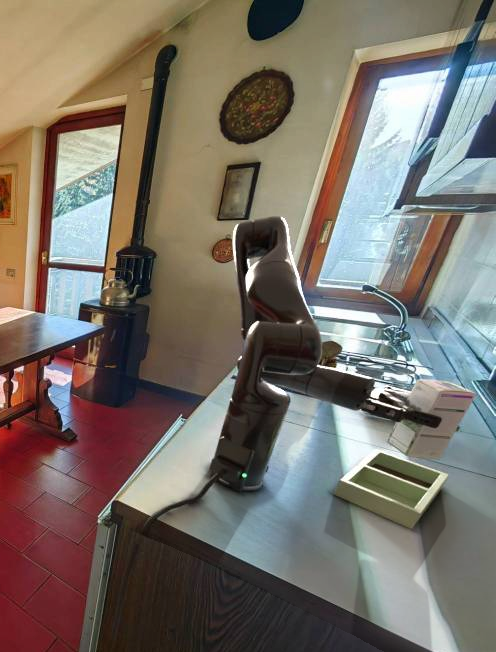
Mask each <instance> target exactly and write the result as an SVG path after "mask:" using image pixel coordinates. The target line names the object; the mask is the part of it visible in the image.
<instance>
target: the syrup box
mask: <svg viewBox="0 0 496 652" xmlns="http://www.w3.org/2000/svg"><path fill="white" fill-rule="evenodd" d="M410 392H411V393H410V395H409V397H408V399H407V401H406V403H405V406H408V407H410V408H412V409H413V412H414V410H418V411H421V412H425V413H428V414H432V415H436V416H439V417H441V418H442V421H441V423H440V425H439V426H438V427H437V428H431V427H428V426H425V425H421V424H418V423H415V422H411V421H409V420H408V421H402V420H401V422H395V424H394V426H393V428H392V429H391V432H390V434H389V436H388V438H387V440H386V443H387V444H389V445H390V446H392V447H393V448H394V449H396V450H397V451H399V452H400V453H401V454H403V455H404V456H406V457H409V458H416V459H423V460H433V461H434V460H435V461H439V460H440V459H441V458H442V457H443V455H444V452H445V450H446V449H447V447H448V445H449V443H450V442H451V440H452V438H453V436H454V435H455V432H456V431H457V429H458V427H459V425H460V424H461V422H462V420H463V419H464V417H465V415H466V414H467V412H468V410H469V409H470V406H471V405H472V403H473V401H474V399H475V397H476V396H477V392H474V391H472V390H470V389H467V388H465V387H463V386H461V385H458V384H456V383H454V382H451V381H447V380H440V379H419V378H418V379H416V381H415V383H414V385H413V387H412V388H411V391H410Z"/></svg>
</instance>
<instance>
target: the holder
mask: <svg viewBox="0 0 496 652" xmlns="http://www.w3.org/2000/svg"><path fill="white" fill-rule="evenodd" d="M449 476H450V475H449V474H448V473H446V472H443V471H439V470H437V469H434V468H430V467H428V466H426V465H422V464H420V463H416V462H414V461H412V460H408V459H406V458H403V457H399V456H397V455H395V454H391V453H388V452H385V451H383V450H379V449H374V450H373V451H372V452H371V453H369V454H368V455H367V456H366V457H365V458H363V460H361V461H360V462H359V463H358V464H357V465H355V466H354V467H353V468H352V469H351V470H349V471H348V473H346V474H345V475H344V476H343V477H341V479H339V481H338V484H337V485H336V488H335V489H334V493H333V495H334V496H336V497H339V498H341V499H343V500H345V501H347V502H350V503H352V504H354V505H356V506H359V507H361V508H364V509H365V510H368V511H370V512H373V513H375V514H377V515H379V516H381V517H383V518H385V519H387V520H390V521H392V522H395V523H397V524H399V525H401V526H403V527H406V528H407V529H410V530H413V529H414V527H415V526H416V524H417V523H418V522H419V520H420V518H421V517H422V516H423V514H424V513H425V512H426V510H427V509H428V508H429V506H430V505H431V504H432V502H433V500H434V499H435V498H436V497H437V495H438V494H439V493H440V491H441V490H442V488H443V486H444V485H445V483H446V481H447V479H448V478H449Z"/></svg>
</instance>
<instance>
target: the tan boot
mask: <svg viewBox="0 0 496 652" xmlns="http://www.w3.org/2000/svg"><path fill="white" fill-rule="evenodd" d="M342 352H343V346H342V345H341V344H340V343H338V342H336V341H335V340H327V341H322V355H321V359H320V362H319V364H318V366H323V367H329V368H335V369H337V367H338V366H337V365H338V361H337V359H338V358H337V356H339V355H341V353H342Z"/></svg>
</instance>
